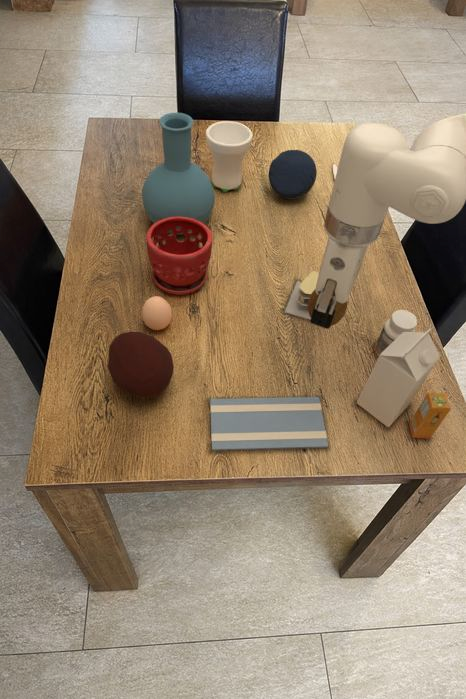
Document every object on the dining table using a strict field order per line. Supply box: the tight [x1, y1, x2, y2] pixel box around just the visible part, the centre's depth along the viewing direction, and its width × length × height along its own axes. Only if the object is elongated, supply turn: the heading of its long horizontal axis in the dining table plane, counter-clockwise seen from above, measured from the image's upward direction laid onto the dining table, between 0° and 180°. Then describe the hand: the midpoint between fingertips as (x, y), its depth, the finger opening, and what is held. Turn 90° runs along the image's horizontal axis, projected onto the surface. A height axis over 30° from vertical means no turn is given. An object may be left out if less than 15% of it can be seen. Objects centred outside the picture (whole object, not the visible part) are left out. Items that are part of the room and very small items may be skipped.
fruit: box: [308, 288, 349, 327], centre depth 81 cm, size 6×6×8 cm
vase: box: [141, 112, 216, 236], centre depth 111 cm, size 16×16×25 cm
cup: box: [205, 120, 254, 193], centre depth 125 cm, size 11×11×14 cm
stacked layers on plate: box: [284, 270, 319, 321], centre depth 105 cm, size 10×9×6 cm
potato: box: [107, 331, 175, 399], centre depth 88 cm, size 11×13×10 cm
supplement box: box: [408, 392, 452, 440], centre depth 86 cm, size 3×3×10 cm
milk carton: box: [356, 328, 441, 428], centre depth 85 cm, size 7×7×19 cm
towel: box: [209, 396, 329, 452], centre depth 88 cm, size 20×10×1 cm, turn 93°
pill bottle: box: [374, 309, 418, 357], centre depth 96 cm, size 6×6×10 cm
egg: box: [141, 295, 173, 331], centre depth 98 cm, size 6×6×8 cm
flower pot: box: [146, 217, 213, 295], centre depth 104 cm, size 13×13×12 cm
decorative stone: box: [268, 149, 318, 200], centre depth 126 cm, size 12×12×10 cm
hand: (326, 309), depth 81 cm, fingers closed on fruit, 6 cm apart
